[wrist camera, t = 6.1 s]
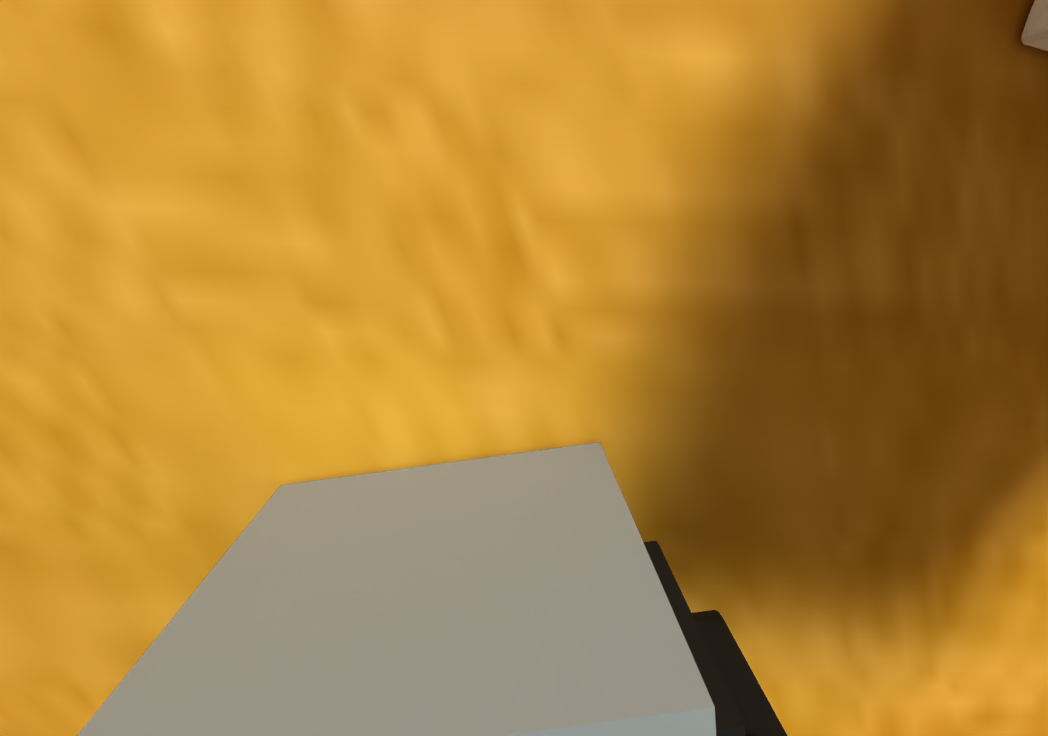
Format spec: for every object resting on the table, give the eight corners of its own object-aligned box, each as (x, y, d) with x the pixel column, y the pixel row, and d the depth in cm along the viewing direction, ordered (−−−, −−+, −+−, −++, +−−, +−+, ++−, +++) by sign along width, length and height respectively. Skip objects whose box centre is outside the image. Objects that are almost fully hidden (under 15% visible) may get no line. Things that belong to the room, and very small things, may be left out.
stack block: (599, 442, 11) (714, 705, 5) (626, 701, 12) (737, 1132, 7) (280, 485, 11) (24, 801, 5) (347, 739, 12) (210, 1206, 7)
